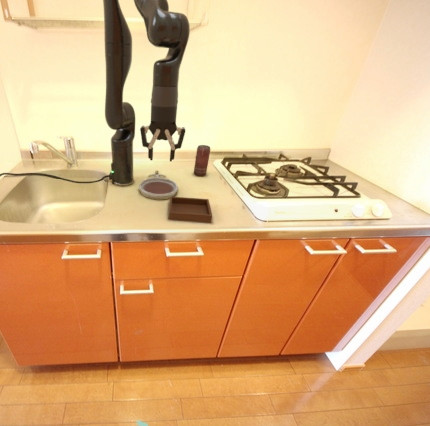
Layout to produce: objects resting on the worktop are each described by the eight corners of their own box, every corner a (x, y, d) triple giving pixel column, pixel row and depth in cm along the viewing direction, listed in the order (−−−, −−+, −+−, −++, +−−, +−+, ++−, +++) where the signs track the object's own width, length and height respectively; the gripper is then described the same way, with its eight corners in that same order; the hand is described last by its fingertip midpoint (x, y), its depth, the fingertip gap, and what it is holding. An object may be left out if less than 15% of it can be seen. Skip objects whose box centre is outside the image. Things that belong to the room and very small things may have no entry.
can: (193, 176, 111) (197, 148, 103) (193, 171, 116) (197, 144, 109) (206, 177, 110) (211, 149, 103) (205, 172, 115) (210, 145, 108)
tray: (168, 219, 80) (169, 212, 78) (169, 203, 90) (170, 196, 88) (210, 223, 79) (212, 215, 77) (207, 205, 88) (208, 199, 87)
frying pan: (174, 168, 113) (180, 194, 89) (173, 174, 115) (180, 201, 91) (140, 168, 113) (137, 193, 89) (139, 173, 115) (137, 200, 91)
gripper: (188, 102, 68) (182, 157, 77) (141, 101, 69) (140, 155, 78) (190, 106, 61) (183, 165, 71) (137, 104, 63) (137, 163, 72)
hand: (161, 159), depth 74 cm, fingers open, 5 cm apart
